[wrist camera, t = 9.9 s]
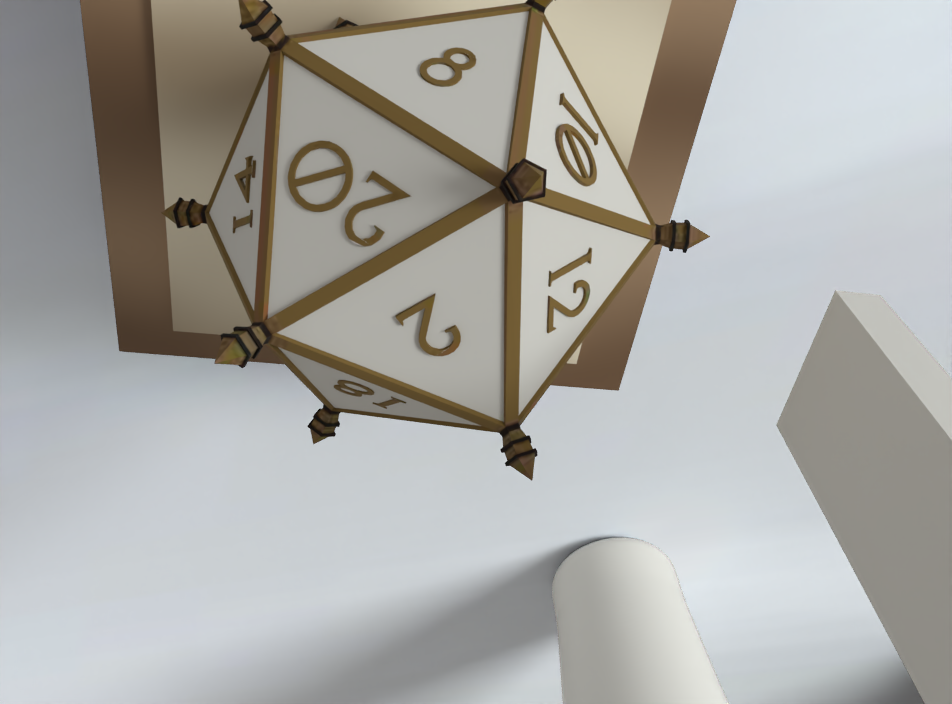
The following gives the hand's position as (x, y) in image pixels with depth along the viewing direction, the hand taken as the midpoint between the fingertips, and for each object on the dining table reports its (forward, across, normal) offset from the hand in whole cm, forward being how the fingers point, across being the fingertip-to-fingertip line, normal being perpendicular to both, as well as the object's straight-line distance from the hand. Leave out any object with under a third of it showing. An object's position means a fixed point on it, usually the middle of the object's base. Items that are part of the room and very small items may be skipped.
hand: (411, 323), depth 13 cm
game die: (+7, 0, 0) cm, 7 cm away
